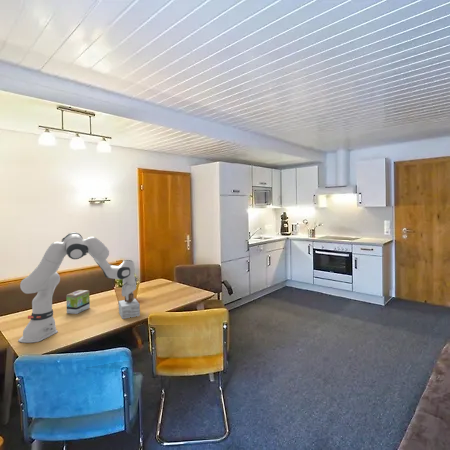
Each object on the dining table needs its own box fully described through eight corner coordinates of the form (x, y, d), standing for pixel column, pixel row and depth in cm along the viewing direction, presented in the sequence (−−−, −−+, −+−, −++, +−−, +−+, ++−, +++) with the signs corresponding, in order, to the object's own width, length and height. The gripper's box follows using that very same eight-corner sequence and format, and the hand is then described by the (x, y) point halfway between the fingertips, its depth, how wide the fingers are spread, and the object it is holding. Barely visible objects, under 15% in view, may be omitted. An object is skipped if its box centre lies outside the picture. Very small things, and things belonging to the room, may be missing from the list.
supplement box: (140, 316, 224) (139, 303, 223) (122, 319, 218) (121, 306, 217) (135, 309, 239) (135, 298, 238) (118, 312, 233) (118, 300, 232)
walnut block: (131, 301, 225) (131, 295, 225) (124, 301, 226) (124, 295, 225) (133, 299, 230) (133, 293, 230) (127, 299, 231) (127, 293, 230)
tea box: (77, 314, 229) (77, 295, 228) (66, 313, 231) (65, 294, 230) (90, 307, 244) (89, 289, 243) (79, 307, 246) (78, 289, 245)
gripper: (127, 284, 217) (128, 303, 217) (137, 277, 237) (137, 294, 238) (119, 284, 217) (119, 303, 218) (129, 277, 237) (130, 294, 238)
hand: (129, 298), depth 228 cm, fingers closed on walnut block, 5 cm apart
